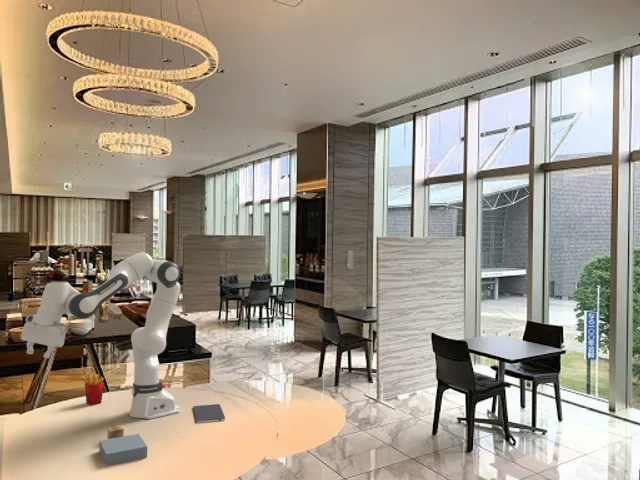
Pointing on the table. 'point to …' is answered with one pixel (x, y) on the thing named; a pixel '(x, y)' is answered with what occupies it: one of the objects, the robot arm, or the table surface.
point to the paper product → (208, 413)
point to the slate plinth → (122, 449)
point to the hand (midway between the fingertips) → (37, 355)
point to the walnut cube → (115, 432)
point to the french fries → (93, 389)
